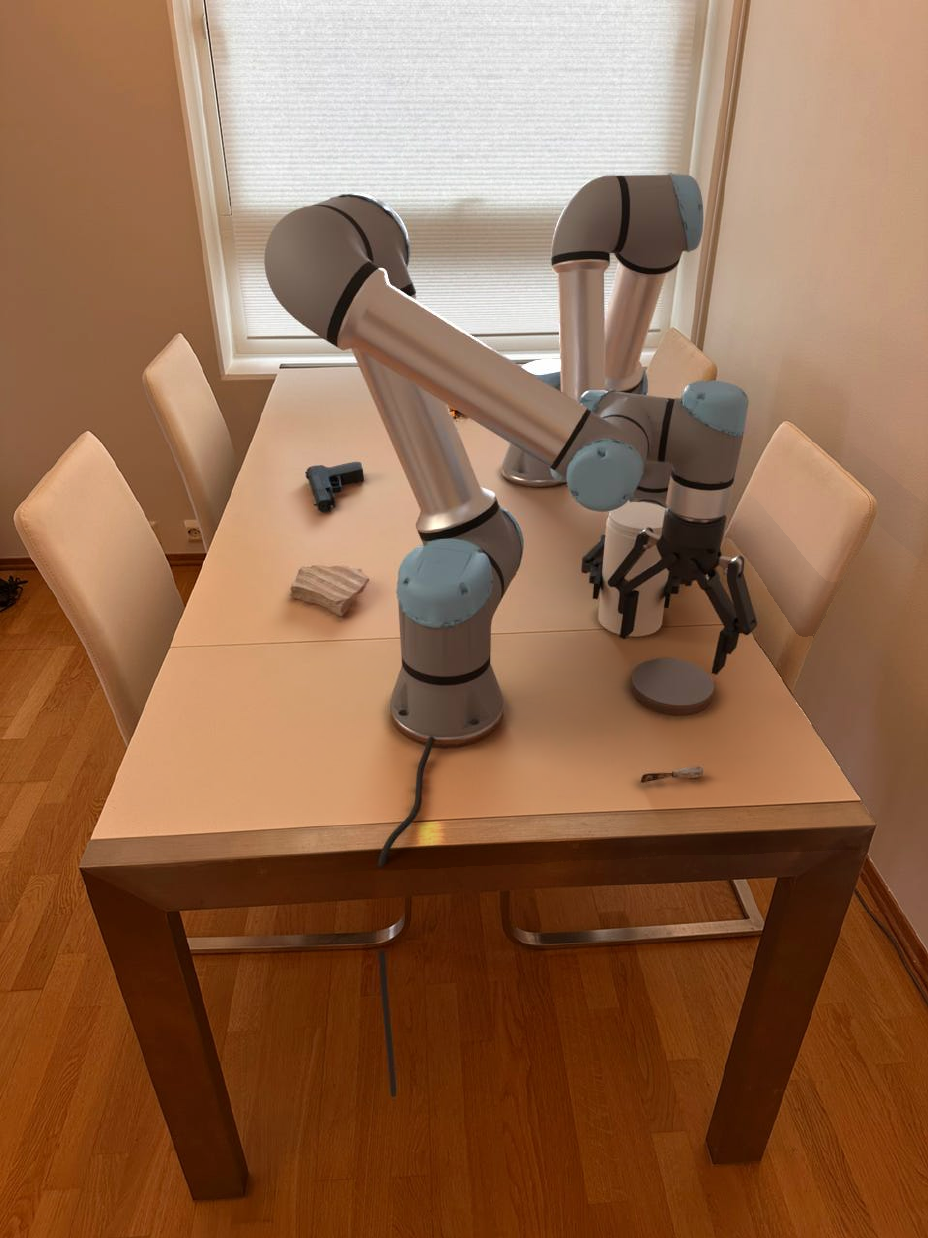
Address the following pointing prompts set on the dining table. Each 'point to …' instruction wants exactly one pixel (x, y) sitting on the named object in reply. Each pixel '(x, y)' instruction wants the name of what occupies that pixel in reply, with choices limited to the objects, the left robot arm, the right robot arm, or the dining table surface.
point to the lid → (672, 686)
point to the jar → (633, 568)
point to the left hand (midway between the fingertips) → (670, 651)
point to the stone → (329, 586)
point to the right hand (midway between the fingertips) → (631, 595)
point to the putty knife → (674, 774)
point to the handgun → (332, 482)
